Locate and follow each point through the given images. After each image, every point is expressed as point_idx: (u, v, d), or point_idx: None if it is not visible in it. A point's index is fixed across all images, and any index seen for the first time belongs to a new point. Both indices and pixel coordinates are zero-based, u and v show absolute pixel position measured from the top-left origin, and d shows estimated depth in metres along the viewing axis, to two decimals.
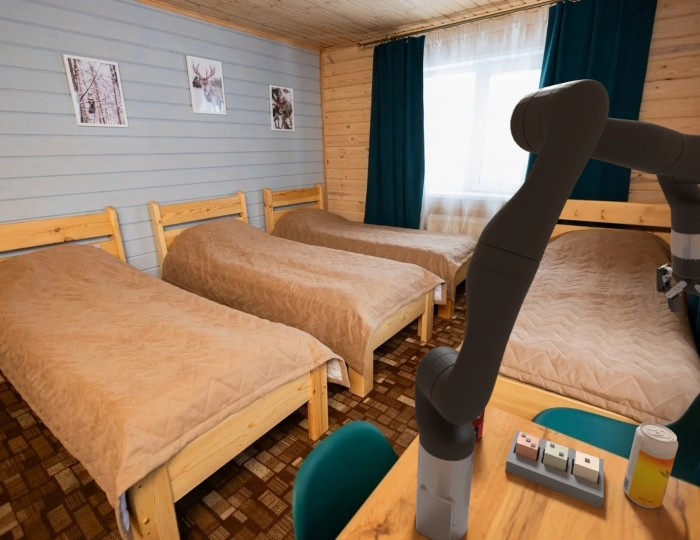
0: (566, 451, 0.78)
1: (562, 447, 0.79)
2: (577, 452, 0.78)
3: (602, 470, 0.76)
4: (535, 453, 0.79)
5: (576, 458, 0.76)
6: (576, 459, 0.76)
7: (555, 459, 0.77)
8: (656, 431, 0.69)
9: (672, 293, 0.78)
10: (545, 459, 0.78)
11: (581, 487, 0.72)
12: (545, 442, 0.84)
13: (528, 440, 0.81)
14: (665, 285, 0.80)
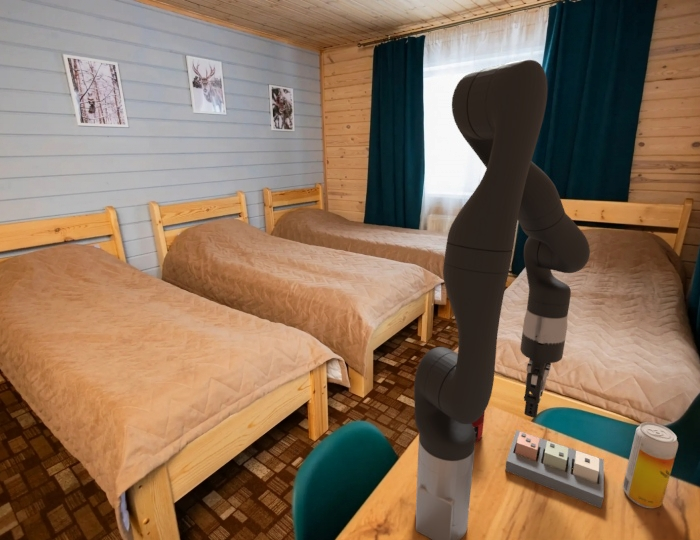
0: (566, 451, 0.78)
1: (562, 447, 0.79)
2: (577, 452, 0.78)
3: (602, 470, 0.76)
4: (535, 453, 0.79)
5: (576, 458, 0.76)
6: (576, 459, 0.76)
7: (555, 459, 0.77)
8: (656, 431, 0.69)
9: None
10: (545, 459, 0.78)
11: (581, 487, 0.72)
12: (545, 442, 0.84)
13: (528, 440, 0.81)
14: None
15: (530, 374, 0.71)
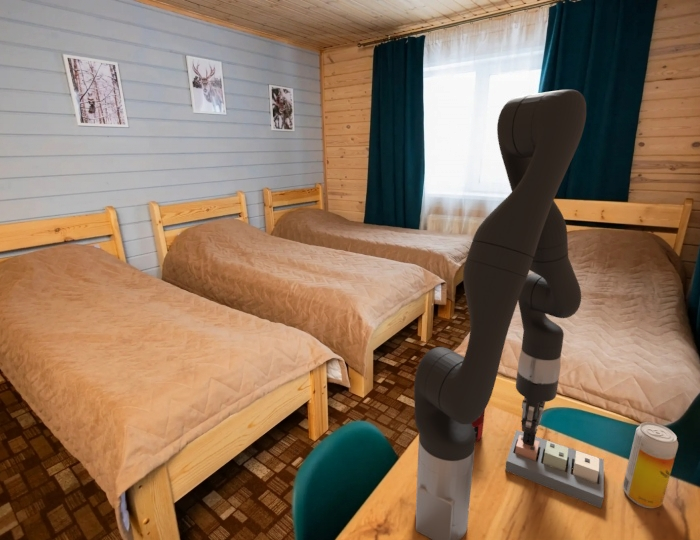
0: (566, 451, 0.78)
1: (562, 447, 0.79)
2: (577, 452, 0.78)
3: (602, 470, 0.76)
4: (535, 456, 0.79)
5: (576, 458, 0.76)
6: (576, 459, 0.76)
7: (555, 459, 0.77)
8: (656, 431, 0.69)
9: None
10: (545, 459, 0.78)
11: (581, 487, 0.72)
12: (545, 442, 0.84)
13: None
14: None
15: (524, 421, 0.74)
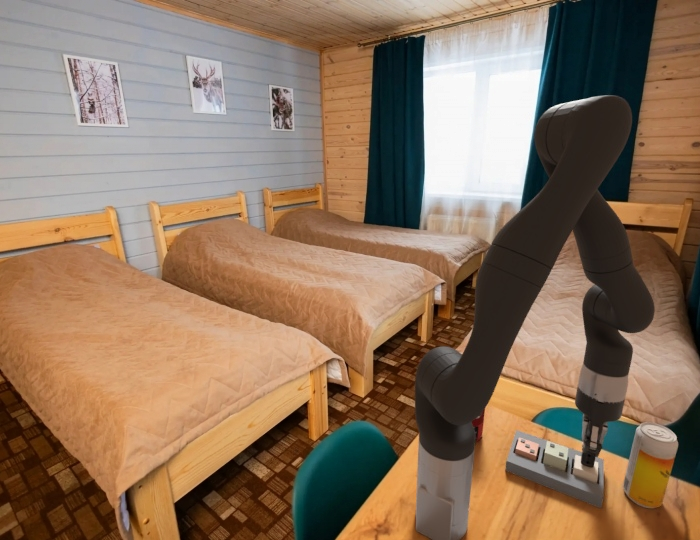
0: (566, 451, 0.78)
1: (562, 447, 0.79)
2: (576, 456, 0.78)
3: (602, 470, 0.76)
4: (534, 459, 0.79)
5: (575, 462, 0.76)
6: (575, 463, 0.76)
7: (555, 459, 0.77)
8: (656, 431, 0.69)
9: None
10: (545, 459, 0.78)
11: (581, 487, 0.72)
12: (545, 442, 0.84)
13: (527, 446, 0.81)
14: None
15: (588, 443, 0.69)
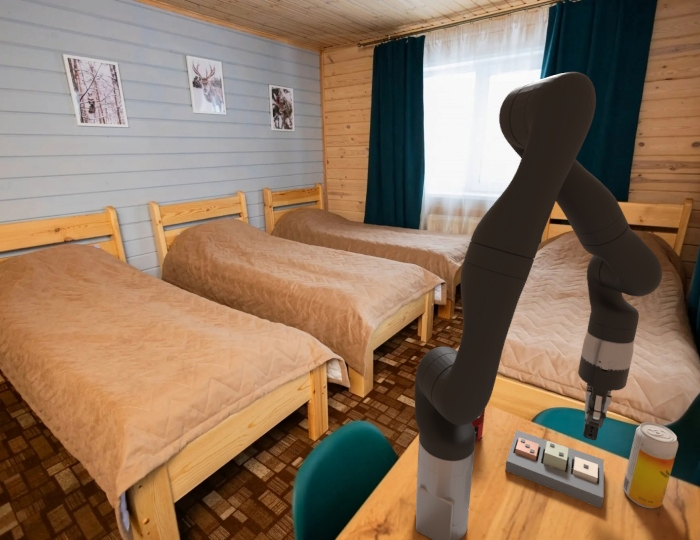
0: (566, 451, 0.78)
1: (562, 447, 0.79)
2: (576, 458, 0.78)
3: (602, 470, 0.76)
4: (534, 459, 0.79)
5: (575, 464, 0.77)
6: (575, 465, 0.76)
7: (555, 459, 0.77)
8: (656, 431, 0.69)
9: None
10: (545, 459, 0.78)
11: (581, 487, 0.72)
12: (545, 442, 0.84)
13: (527, 446, 0.81)
14: None
15: (592, 412, 0.67)
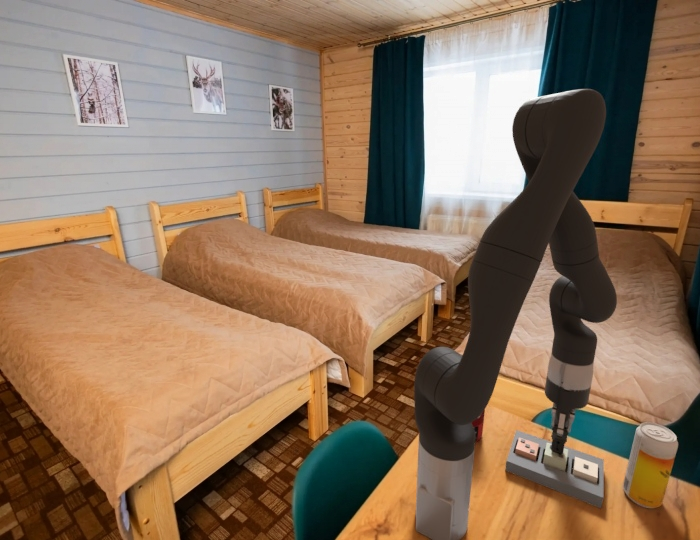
0: (566, 453, 0.78)
1: None
2: (576, 458, 0.78)
3: (602, 470, 0.76)
4: (534, 459, 0.79)
5: (575, 464, 0.77)
6: (575, 465, 0.76)
7: (555, 461, 0.77)
8: (656, 431, 0.69)
9: None
10: (545, 461, 0.78)
11: (581, 487, 0.72)
12: (545, 442, 0.84)
13: (527, 446, 0.81)
14: None
15: (555, 429, 0.71)
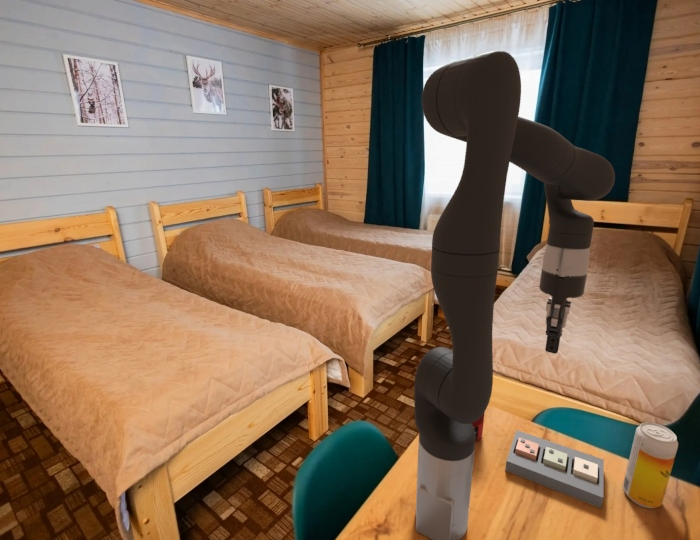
0: (565, 457, 0.78)
1: (561, 453, 0.80)
2: (576, 458, 0.78)
3: (602, 470, 0.76)
4: (534, 459, 0.79)
5: (575, 464, 0.77)
6: (575, 465, 0.76)
7: (554, 465, 0.77)
8: (656, 431, 0.69)
9: None
10: None
11: (581, 487, 0.72)
12: (545, 442, 0.84)
13: (527, 446, 0.81)
14: None
15: (550, 319, 0.69)
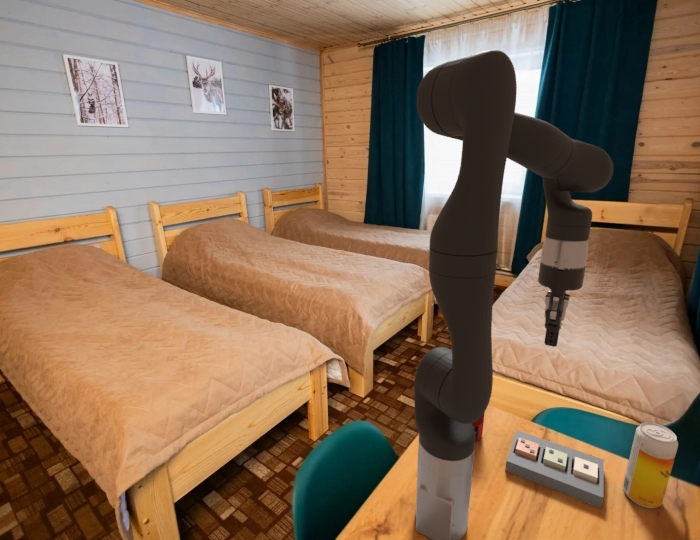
0: (565, 457, 0.78)
1: (561, 453, 0.80)
2: (576, 458, 0.78)
3: (602, 470, 0.76)
4: (534, 459, 0.79)
5: (575, 464, 0.77)
6: (575, 465, 0.76)
7: (554, 465, 0.77)
8: (656, 431, 0.69)
9: None
10: None
11: (581, 487, 0.72)
12: (545, 442, 0.84)
13: (527, 446, 0.81)
14: None
15: (549, 311, 0.69)
